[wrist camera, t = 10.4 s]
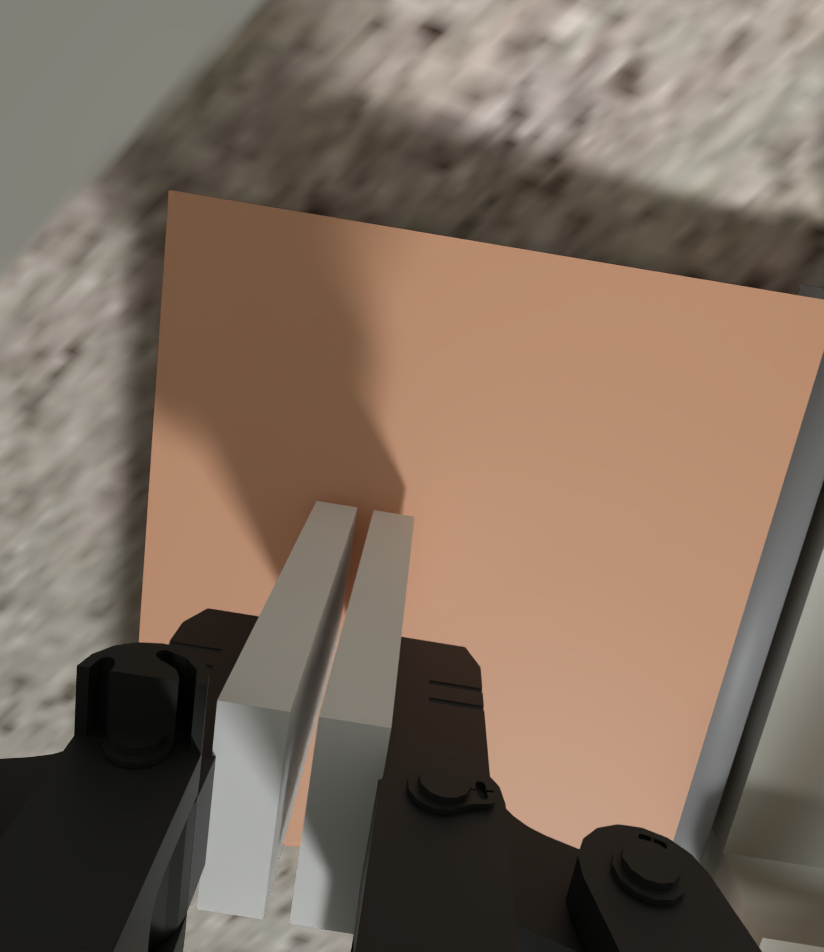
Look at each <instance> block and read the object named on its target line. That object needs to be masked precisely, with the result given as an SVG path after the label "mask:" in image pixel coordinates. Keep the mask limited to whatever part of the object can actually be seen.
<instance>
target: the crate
mask: <svg viewBox="0 0 824 952" xmlns="http://www.w3.org/2000/svg"><path fill="white" fill-rule="evenodd" d="M700 864H701V865H702V866H703V867H704V869H705V870H706V871H707V872H708V873H709V874H710V876H711V877H712V879H713V880H714V882H715V883H716V885H717V886H718V888H719V889H720V890H721V892H722V893H723V895H724V896H725V898H726V899H727V901H728V902H729V904H730V905H731V907H732V908H733V910H734V911H735V913H736V914H737V916H738V917H739V918H740V920H741V921H742V923H743V924H744V926H745V927H746V929H747V930H748V932H749V933H750V935H751V936H752V938H753V939H754V941H755V942H756V943H757V945H758V946H759V948H760V949H761V951H762V952H824V481H823V484H822V487H821V490H820V493H819V496H818V499H817V502H816V505H815V509H814V512H813V515H812V518H811V521H810V524H809V527H808V530H807V533H806V537H805V540H804V543H803V546H802V549H801V552H800V555H799V558H798V561H797V564H796V568H795V571H794V574H793V577H792V580H791V583H790V586H789V589H788V592H787V596H786V599H785V602H784V605H783V608H782V611H781V614H780V617H779V620H778V623H777V627H776V630H775V633H774V636H773V639H772V642H771V645H770V648H769V651H768V655H767V658H766V661H765V664H764V667H763V670H762V673H761V676H760V679H759V683H758V686H757V689H756V692H755V695H754V698H753V701H752V704H751V707H750V710H749V714H748V717H747V720H746V723H745V726H744V729H743V732H742V735H741V738H740V742H739V745H738V748H737V751H736V754H735V757H734V760H733V763H732V766H731V769H730V773H729V776H728V779H727V782H726V785H725V788H724V791H723V794H722V797H721V801H720V804H719V807H718V810H717V813H716V816H715V819H714V822H713V825H712V828H711V832H710V835H709V838H708V841H707V844H706V847H705V850H704V853H703V856H702V860H701V863H700Z"/></svg>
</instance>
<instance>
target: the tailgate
mask: <svg viewBox="0 0 824 952" xmlns="http://www.w3.org/2000/svg"><path fill="white" fill-rule="evenodd" d="M823 481H824V288H819V287H811V286H803V285H800V288H799V292H798V295H793V294H787V293H781V292H775V291H769V290H763V289H757V288H751V287H745V286H739V285H733V284H728V283H722V282H716V281H710V280H704V279H698V278H692V277H686V276H680V275H674V274H668V273H662V272H656V271H650V270H644V269H638V268H632V267H626V266H620V265H614V264H608V263H602V262H596V261H590V260H584V259H578V258H573V257H567V256H561V255H555V254H549V253H543V252H537V251H531V250H525V249H519V248H513V247H507V246H501V245H495V244H489V243H483V242H477V241H471V240H465V239H459V238H453V237H447V236H441V235H435V234H429V233H423V232H418V231H412V230H406V229H400V228H394V227H388V226H382V225H376V224H370V223H364V222H358V221H352V220H346V219H340V218H334V217H328V216H322V215H316V214H310V213H304V212H298V211H292V210H286V209H280V208H274V207H268V206H263V205H257V204H251V203H245V202H239V201H233V200H227V199H221V198H215V197H209V196H203V195H197V194H191V193H185V192H179V191H173V190H169V194H168V209H167V224H166V239H165V254H164V269H163V284H162V299H161V314H160V329H159V345H158V360H157V375H156V390H155V405H154V420H153V435H152V450H151V465H150V480H149V495H148V510H147V525H146V541H145V556H144V571H143V586H142V601H141V616H140V631H139V642H145V643H164V644H168V645H169V642H170V640H171V638H172V637H173V635H174V634H175V632H176V631H177V630H178V628H179V627H180V625H181V624H182V622H184V621H186V620H187V619H189V618H191V617H193V616H195V615H196V614H198V613H200V612H202V611H204V610H205V609H207V608H210V609H216V610H223V611H229V612H235V613H241V614H248V615H254V616H259V615H260V613H261V611H262V609H263V607H264V605H265V603H266V601H267V599H268V597H269V595H270V593H271V591H272V589H273V587H274V585H275V583H276V581H277V579H278V577H279V575H280V573H281V571H282V569H283V567H284V565H285V563H286V561H287V559H288V557H289V555H290V553H291V551H292V549H293V547H294V545H295V543H296V541H297V539H298V537H299V535H300V533H301V531H302V529H303V527H304V525H305V523H306V521H307V519H308V517H309V515H310V513H311V511H312V509H313V507H314V505H315V503H316V501H321V502H327V503H333V504H340V505H346V506H352V507H357V514H356V521H355V528H354V534H353V541H352V548H351V555H350V562H349V569H348V576H347V583H346V590H345V597H344V604H343V610H342V617H341V624H340V631H339V638H338V642H339V639H340V635H341V631H342V627H343V624H344V620H345V616H346V612H347V609H348V605H349V601H350V597H351V594H352V590H353V586H354V582H355V579H356V575H357V571H358V567H359V563H360V560H361V556H362V552H363V548H364V545H365V541H366V537H367V533H368V530H369V526H370V522H371V518H372V515H373V511H374V510H376V511H383V512H389V513H395V514H401V515H407V516H414V526H413V535H412V544H411V553H410V562H409V571H408V581H407V590H406V599H405V608H404V617H403V626H402V635H401V637H406V638H413V639H419V640H425V641H431V642H437V643H444V644H450V645H456V646H462V647H466V649H467V650H468V651H469V653H470V654H471V655H472V657H473V658H474V659H475V661H476V662H477V663H478V665H479V666H480V667H481V678H482V693H483V701H484V709H483V710H484V713H485V724H486V736H487V747H488V759H489V771H490V777H491V778H492V779H493V780H494V781H495V782H496V783H497V785H498V786H499V787H500V789H501V792H502V795H503V798H504V801H505V804H506V809H507V810H508V811H509V812H510V813H511V814H512V815H513V816H514V817H516V818H517V819H518V820H520V821H521V822H523V823H524V824H525V825H527V826H528V827H530V828H532V829H534V830H536V831H538V832H540V833H542V834H544V835H546V836H548V837H551V838H553V839H556V840H558V841H560V842H563V843H565V844H568V845H570V846H573V847H575V848H578V849H580V847H581V843H582V840H583V838H584V837H586V836H587V835H588V834H590V833H591V832H592V831H594V830H595V829H596V828H599V827H605V826H610V825H616V824H620V825H627V826H634V827H641V828H644V829H647V830H649V831H652V832H654V833H657V834H659V835H662V836H664V837H667V838H669V839H670V840H672V841H673V842H675V843H676V844H678V845H679V846H680V847H682V848H683V849H685V850H686V851H688V852H689V853H691V854H692V855H693V856H694V858H695V859H696V860H697V861H698V862H699V863H701V860H702V856H703V853H704V850H705V847H706V844H707V841H708V838H709V835H710V832H711V828H712V825H713V822H714V819H715V816H716V813H717V810H718V807H719V804H720V801H721V797H722V794H723V791H724V788H725V785H726V782H727V779H728V776H729V773H730V769H731V766H732V763H733V760H734V757H735V754H736V751H737V748H738V745H739V742H740V738H741V735H742V732H743V729H744V726H745V723H746V720H747V717H748V714H749V710H750V707H751V704H752V701H753V698H754V695H755V692H756V689H757V686H758V683H759V679H760V676H761V673H762V670H763V667H764V664H765V661H766V658H767V655H768V651H769V648H770V645H771V642H772V639H773V636H774V633H775V630H776V627H777V623H778V620H779V617H780V614H781V611H782V608H783V605H784V602H785V599H786V596H787V592H788V589H789V586H790V583H791V580H792V577H793V574H794V571H795V568H796V564H797V561H798V558H799V555H800V552H801V549H802V546H803V543H804V540H805V537H806V533H807V530H808V527H809V524H810V521H811V518H812V515H813V512H814V509H815V505H816V502H817V499H818V496H819V493H820V490H821V487H822V484H823ZM338 642H337V646H338ZM337 646H336V650H337ZM336 650H335V653H334V657H335V654H336ZM334 657H333V661H334ZM333 661H332V665H333ZM332 665H331V668H330V672H331V669H332ZM330 672H329V676H330ZM329 676H328V680H329ZM328 680H327V683H326V687H327V684H328ZM326 687H325V691H326ZM325 691H324V695H325ZM324 695H323V698H322V702H323V699H324ZM322 702H321V706H322ZM321 706H320V710H321ZM320 710H319V713H318V717H317V721H316V724H315V728H314V732H313V736H312V739H311V743H310V747H309V751H308V754H307V758H306V762H305V766H304V769H303V773H302V777H301V780H300V784H299V788H298V792H297V795H296V799H295V803H294V807H293V810H292V814H291V818H290V822H289V825H288V829H287V833H286V836H285V840H284V844H283V846H296V847H300V846H301V838H302V831H303V824H304V817H305V810H306V803H307V796H308V789H309V782H310V775H311V768H312V761H313V754H314V746H315V739H316V732H317V725H318V718H319V714H320Z"/></svg>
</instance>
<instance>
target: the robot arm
mask: <svg viewBox="0 0 824 952" xmlns="http://www.w3.org/2000/svg"><path fill="white" fill-rule="evenodd" d="M356 514H357V507H352V506H346V505H340V504H333V503H327V502H321V501H316V503H315V505H314V507H313V509H312V511H311V513H310V515H309V517H308V519H307V521H306V523H305V525H304V527H303V529H302V531H301V533H300V535H299V537H298V539H297V541H296V543H295V545H294V547H293V549H292V551H291V553H290V555H289V557H288V559H287V561H286V563H285V565H284V567H283V569H282V571H281V573H280V575H279V577H278V579H277V581H276V583H275V585H274V587H273V589H272V591H271V593H270V595H269V597H268V599H267V601H266V603H265V605H264V607H263V609H262V611H261V613H260V615H259V616H254V615H248V614H241V613H235V612H229V611H223V610H216V609H210V608H207V609H205V610H204V611H202V612H200V613H198V614H196V615H195V616H193V617H191V618H189V619H187V620H186V621H184V622H182V624H181V625H180V627H179V628H178V630H177V631H176V632H175V634H174V635H173V637H172V638H171V640H170V642H169V645H168V644H164V643H145V642H137V643H130V644H123V645H116V646H112V647H110V648H107V649H104V650H102V651H99V652H96V653H93V654H92V655H90V656H89V657H88V658H86V659H85V660H84V661H83V662H81V663H80V664H79V665H77V678H76V705H75V731H74V737H73V738H72V740H71V741H70V743H69V744H68V745H67V747H66V748H65V749H64V751H63V752H59V753H55V754H51V755H43V756H35V757H25V758H8V759H0V952H183V947H184V938H185V929H186V919H187V910H188V908H189V905H190V903H191V900H192V897H193V895H194V892H195V890H196V887H197V884H198V882H199V879H200V883H199V893H198V903H197V909H199V910H206V911H212V912H218V913H225V914H231V915H237V916H244V917H250V918H256V919H264V915H265V911H266V907H267V904H268V900H269V896H270V893H271V889H272V885H273V881H274V878H275V874H276V870H277V866H278V863H279V859H280V855H281V851H282V848H283V844H284V840H285V836H286V833H287V829H288V825H289V822H290V818H291V814H292V810H293V807H294V803H295V799H296V795H297V792H298V788H299V784H300V780H301V777H302V773H303V769H304V766H305V762H306V758H307V754H308V751H309V747H310V743H311V739H312V736H313V732H314V728H315V724H316V721H317V717H318V713H319V710H320V706H321V702H322V698H323V695H324V691H325V687H326V683H327V680H328V676H329V672H330V668H331V665H332V661H333V657H334V653H335V650H336V646H337V642H338V638H339V631H340V624H341V617H342V610H343V604H344V597H345V590H346V583H347V576H348V569H349V562H350V555H351V548H352V541H353V534H354V528H355V521H356ZM413 526H414V516H407V515H401V514H395V513H389V512H383V511H376V510H374V511H373V515H372V518H371V522H370V526H369V530H368V533H367V537H366V541H365V545H364V548H363V552H362V556H361V560H360V563H359V567H358V571H357V575H356V579H355V582H354V586H353V590H352V594H351V597H350V601H349V605H348V609H347V612H346V616H345V620H344V624H343V627H342V631H341V635H340V639H339V642H338V646H337V650H336V654H335V657H334V661H333V665H332V669H331V672H330V676H329V680H328V684H327V687H326V691H325V695H324V699H323V702H322V706H321V710H320V714H319V718H318V725H317V732H316V739H315V746H314V754H313V761H312V768H311V775H310V782H309V789H308V796H307V803H306V810H305V817H304V824H303V831H302V838H301V846H300V853H299V860H298V867H297V874H296V881H295V888H294V895H293V902H292V909H291V916H290V923H289V924H294V925H300V926H306V927H313V928H319V929H325V930H332V931H338V932H344V933H351V934H354V936H353V942H352V948H351V952H762V951H761V949H760V948H759V946H758V945H757V943H756V942H755V941H754V939H753V938H752V936H751V935H750V933H749V932H748V930H747V929H746V927H745V926H744V924H743V923H742V921H741V920H740V918H739V917H738V916H737V914H736V913H735V911H734V910H733V908H732V907H731V905H730V904H729V902H728V901H727V899H726V898H725V896H724V895H723V893H722V892H721V890H720V889H719V888H718V886H717V885H716V883H715V882H714V880H713V879H712V877H711V876H710V874H709V873H708V872H707V871H706V870H705V869H704V867H703V866H702V865H701V864H700V863H699V862H698V861H697V860H696V859H695V858H694V856H693V855H692V854H691V853H689V852H688V851H686V850H685V849H683V848H682V847H680V846H679V845H678V844H676V843H675V842H673V841H672V840H670V839H669V838H667V837H664V836H662V835H659V834H657V833H654V832H652V831H649V830H647V829H644V828H641V827H634V826H627V825H620V824H616V825H610V826H605V827H599V828H596V829H595V830H594V831H592V832H591V833H590V834H588V835H587V836H586V837H584V838H583V840H582V843H581V847H580V849H578V848H575V847H573V846H570V845H568V844H565V843H563V842H560V841H558V840H556V839H553V838H551V837H548V836H546V835H544V834H542V833H540V832H538V831H536V830H534V829H532V828H530V827H528V826H527V825H525V824H524V823H523V822H521V821H520V820H518V819H517V818H516V817H514V816H513V815H512V814H511V813H510V812H509V811H508V810H507V809H506V804H505V801H504V798H503V795H502V792H501V789H500V787H499V786H498V785H497V783H496V782H495V781H494V780H493V779H492V778H491V777H490V771H489V759H488V747H487V736H486V724H485V713H484V710H483V709H484V701H483V693H482V678H481V667H480V666H479V665H478V663H477V662H476V661H475V659H474V658H473V657H472V655H471V654H470V653H469V651H468V650H467V649H466V647H462V646H456V645H450V644H444V643H437V642H431V641H425V640H419V639H413V638H406V637H401V635H402V626H403V617H404V608H405V599H406V590H407V581H408V571H409V562H410V553H411V544H412V535H413Z"/></svg>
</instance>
